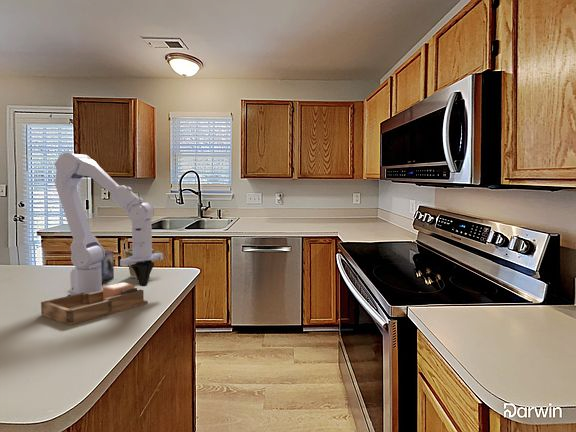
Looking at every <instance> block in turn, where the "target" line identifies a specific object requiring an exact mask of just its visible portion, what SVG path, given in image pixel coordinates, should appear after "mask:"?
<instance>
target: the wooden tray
mask: <svg viewBox="0 0 576 432" xmlns="http://www.w3.org/2000/svg"><path fill="white" fill-rule="evenodd" d="M144 295H145V294H144V290H143V289H138V288H137V287H134V288H133V289H129V290H125V291H121V294H120V295H116V296H112V297H108V298H104V300H103V289H102V290H101V291H97V292H92V293H88V294H86V293H80V294H75V295H67V296H61V297H59V298H58V297H57V298H53V299H48V300H44V301H40V311H41V316H42V317H45V318H48V319H51V320H53V321H57V322H59V323H62V324H64V323H65V324H64V325H67V326H71V325H75V324H76V325H77V324H79V323H82V322H83V323H84V322H86V321H89V320H93V319H96V318H100V317H103V316H108V315H112V314H115V313H118V312H121V311H125V310H129V309H132V308H136V307H140V306H143V305H147V304H149V301H148V300H145V299H144Z"/></svg>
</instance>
